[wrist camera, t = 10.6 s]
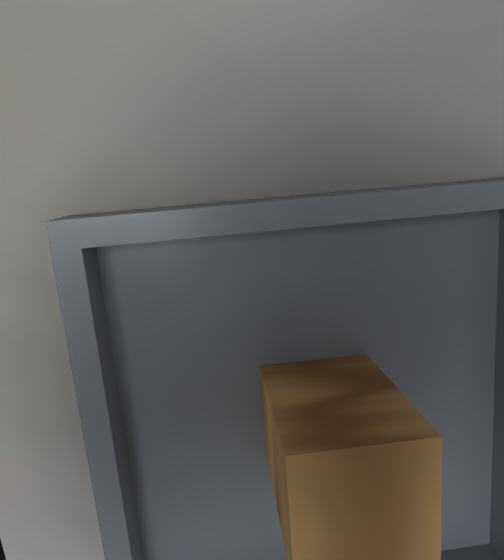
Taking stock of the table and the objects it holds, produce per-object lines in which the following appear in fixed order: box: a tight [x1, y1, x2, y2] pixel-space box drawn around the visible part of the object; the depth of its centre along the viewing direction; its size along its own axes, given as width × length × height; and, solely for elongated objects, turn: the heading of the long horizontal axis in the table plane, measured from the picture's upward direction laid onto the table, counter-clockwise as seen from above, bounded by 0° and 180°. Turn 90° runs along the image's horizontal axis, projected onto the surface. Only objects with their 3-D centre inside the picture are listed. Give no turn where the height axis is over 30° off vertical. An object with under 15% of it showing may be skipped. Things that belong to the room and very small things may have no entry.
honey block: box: [260, 354, 442, 560], centre depth 17 cm, size 4×4×6 cm
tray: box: [46, 177, 504, 560], centre depth 19 cm, size 18×18×2 cm
